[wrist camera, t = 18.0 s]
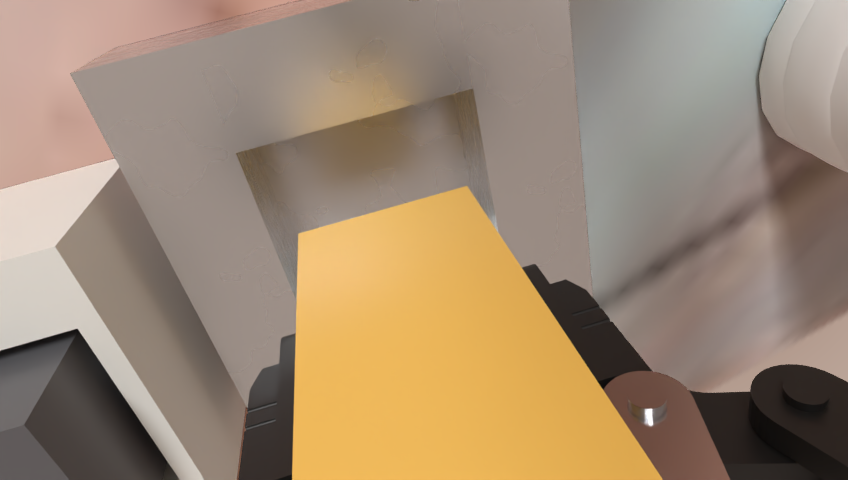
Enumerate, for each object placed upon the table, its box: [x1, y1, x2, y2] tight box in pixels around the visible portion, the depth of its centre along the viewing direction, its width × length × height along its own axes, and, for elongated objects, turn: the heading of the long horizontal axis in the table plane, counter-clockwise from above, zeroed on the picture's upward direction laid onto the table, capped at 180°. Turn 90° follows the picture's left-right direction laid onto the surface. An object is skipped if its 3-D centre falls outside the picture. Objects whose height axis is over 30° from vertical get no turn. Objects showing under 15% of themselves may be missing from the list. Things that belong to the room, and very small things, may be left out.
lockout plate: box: [70, 0, 593, 408], centre depth 18 cm, size 12×12×4 cm
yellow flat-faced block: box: [292, 186, 663, 480], centre depth 10 cm, size 4×4×9 cm
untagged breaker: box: [0, 328, 167, 480], centre depth 14 cm, size 5×6×5 cm
